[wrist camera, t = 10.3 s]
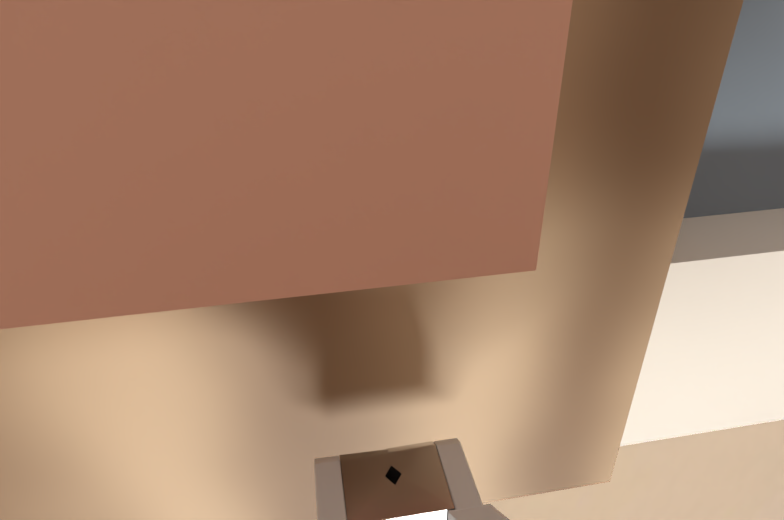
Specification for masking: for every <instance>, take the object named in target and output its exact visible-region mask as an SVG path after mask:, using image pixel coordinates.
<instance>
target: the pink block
mask: <svg viewBox="0 0 784 520" xmlns="http://www.w3.org/2000/svg"><path fill="white" fill-rule="evenodd" d="M572 3H573V0H0V329H7V328H17V327H26V326H35V325H44V324H53V323H62V322H71V321H80V320H89V319H98V318H108V317H117V316H126V315H135V314H144V313H153V312H162V311H171V310H180V309H189V308H199V307H208V306H217V305H226V304H235V303H244V302H253V301H262V300H271V299H280V298H290V297H299V296H308V295H317V294H326V293H335V292H344V291H353V290H362V289H371V288H381V287H390V286H399V285H408V284H417V283H426V282H435V281H444V280H453V279H462V278H472V277H481V276H490V275H499V274H508V273H517V272H526V271H535V270H536V267H537V260H538V253H539V245H540V238H541V231H542V223H543V216H544V208H545V201H546V194H547V186H548V179H549V172H550V164H551V157H552V150H553V142H554V135H555V128H556V120H557V113H558V105H559V98H560V91H561V83H562V76H563V69H564V61H565V54H566V47H567V39H568V32H569V25H570V17H571V10H572Z"/></svg>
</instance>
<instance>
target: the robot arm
mask: <svg viewBox="0 0 784 520" xmlns="http://www.w3.org/2000/svg"><path fill="white" fill-rule="evenodd" d="M314 476H315V492H316V507H317V520H509V519H508V518H507V517H505V516H504V515H503V514H502V513H500V512H499V511H498V510H497V509H496V508H494V507H493V506H492V505H491V504H486V505H483V503H482V501H481V498H480V495H479V492H478V490H477V487H476V484H475V481H474V478H473V476H472V473H471V470H470V467H469V465H468V462H467V459H466V456H465V454H464V451H463V448H462V445H461V442H460V441H459V440H458V439H457V438H453V439H446V440H439V441H434V442H432V441H430V442H424V443H417V444H411V445H405V446H399V447H393V448H387V449H385V450H377V451H369V452H361V453H352V454H344V455H340V459H339V455H338V456H330V457H323V458H315V459H314Z"/></svg>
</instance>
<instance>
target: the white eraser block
mask: <svg viewBox="0 0 784 520" xmlns="http://www.w3.org/2000/svg"><path fill="white" fill-rule="evenodd" d="M778 420H784V208H780V209H771V210H761V211H751V212H741V213H731V214H722V215H712V216H702V217H692V218H683V220H682V224H681V227H680V231H679V235H678V238H677V242H676V245H675V249H674V253H673V256H672V260H671V263H670V267H669V271H668V274H667V278H666V281H665V285H664V289H663V292H662V296H661V299H660V303H659V307H658V310H657V314H656V317H655V321H654V325H653V328H652V332H651V335H650V339H649V343H648V346H647V350H646V353H645V357H644V361H643V364H642V368H641V371H640V375H639V379H638V382H637V386H636V389H635V393H634V397H633V400H632V404H631V407H630V411H629V415H628V418H627V422H626V425H625V429H624V433H623V436H622V440H621V443H620V446H624V445H630V444H637V443H643V442H649V441H655V440H661V439H667V438H674V437H680V436H686V435H692V434H698V433H704V432H711V431H717V430H723V429H729V428H735V427H741V426H747V425H754V424H760V423H766V422H772V421H778Z"/></svg>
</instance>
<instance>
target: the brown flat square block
mask: <svg viewBox="0 0 784 520" xmlns="http://www.w3.org/2000/svg"><path fill="white" fill-rule="evenodd" d="M742 4H743V0H573V3H572V10H571V17H570V25H569V32H568V39H567V47H566V54H565V61H564V69H563V76H562V83H561V91H560V98H559V105H558V113H557V120H556V128H555V135H554V142H553V150H552V157H551V164H550V172H549V179H548V186H547V194H546V201H545V208H544V216H543V223H542V231H541V238H540V245H539V253H538V260H537V267H536V270H535V271H526V272H517V273H508V274H499V275H490V276H481V277H472V278H462V279H453V280H444V281H435V282H426V283H417V284H408V285H399V286H390V287H381V288H371V289H362V290H353V291H344V292H335V293H326V294H317V295H308V296H299V297H290V298H280V299H271V300H262V301H253V302H244V303H235V304H226V305H217V306H208V307H199V308H189V309H180V310H171V311H162V312H153V313H144V314H135V315H126V316H117V317H108V318H98V319H89V320H80V321H71V322H62V323H53V324H44V325H35V326H26V327H17V328H7V329H0V520H317V507H316V492H315V476H314V459H315V458H323V457H330V456H338V455H339V459H340V455H344V454H352V453H361V452H369V451H377V450H385V449H387V448H393V447H399V446H405V445H411V444H417V443H424V442H430V441H432V442H434V441H439V440H446V439H453V438H457V439H458V440H459V441H460V442H461V445H462V448H463V451H464V454H465V456H466V459H467V462H468V465H469V467H470V470H471V473H472V476H473V478H474V481H475V484H476V487H477V490H478V492H479V495H480V498H481V501H482V503H487V502H493V501H499V500H505V499H511V498H517V497H523V496H529V495H534V494H540V493H546V492H552V491H558V490H564V489H570V488H576V487H582V486H587V485H593V484H599V483H605V482H610V479H611V476H612V472H613V469H614V465H615V461H616V458H617V454H618V451H619V447H620V443H621V440H622V436H623V433H624V429H625V425H626V422H627V418H628V415H629V411H630V407H631V404H632V400H633V397H634V393H635V389H636V386H637V382H638V379H639V375H640V371H641V368H642V364H643V361H644V357H645V353H646V350H647V346H648V343H649V339H650V335H651V332H652V328H653V325H654V321H655V317H656V314H657V310H658V307H659V303H660V299H661V296H662V292H663V289H664V285H665V281H666V278H667V274H668V271H669V267H670V263H671V260H672V256H673V253H674V249H675V245H676V242H677V238H678V235H679V231H680V227H681V224H682V220H683V217H684V213H685V209H686V206H687V202H688V199H689V195H690V191H691V188H692V184H693V181H694V177H695V173H696V170H697V166H698V163H699V159H700V155H701V152H702V148H703V145H704V141H705V137H706V134H707V130H708V127H709V123H710V119H711V116H712V112H713V109H714V105H715V101H716V98H717V94H718V91H719V87H720V83H721V80H722V76H723V72H724V69H725V65H726V62H727V58H728V54H729V51H730V47H731V44H732V40H733V36H734V33H735V29H736V26H737V22H738V18H739V15H740V11H741V8H742Z"/></svg>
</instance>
